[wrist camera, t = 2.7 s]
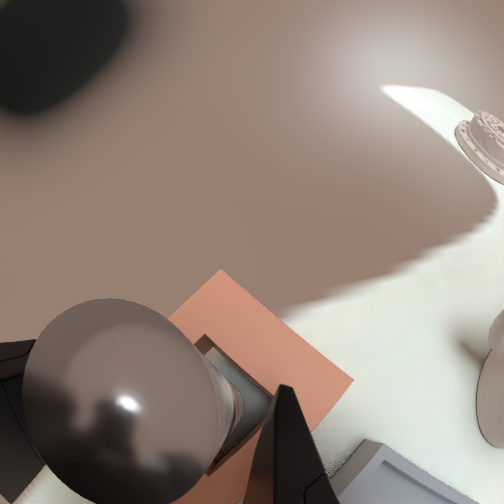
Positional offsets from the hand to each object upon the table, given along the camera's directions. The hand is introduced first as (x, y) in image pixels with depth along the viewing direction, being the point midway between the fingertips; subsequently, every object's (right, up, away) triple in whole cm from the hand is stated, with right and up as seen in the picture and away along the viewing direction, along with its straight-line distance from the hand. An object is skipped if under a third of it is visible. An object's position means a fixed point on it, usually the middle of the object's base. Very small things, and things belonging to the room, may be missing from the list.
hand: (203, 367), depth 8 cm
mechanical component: (+30, +15, +17) cm, 37 cm away
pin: (0, -4, +5) cm, 7 cm away
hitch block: (0, -4, +5) cm, 7 cm away
